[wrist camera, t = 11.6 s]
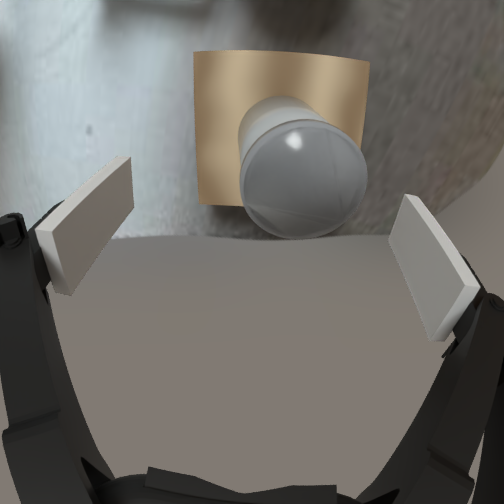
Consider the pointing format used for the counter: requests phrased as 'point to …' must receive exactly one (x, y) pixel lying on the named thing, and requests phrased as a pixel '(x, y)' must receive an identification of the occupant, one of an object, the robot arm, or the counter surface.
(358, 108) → the oak block
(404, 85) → the counter surface
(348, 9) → the counter surface
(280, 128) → the canister
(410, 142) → the counter surface
